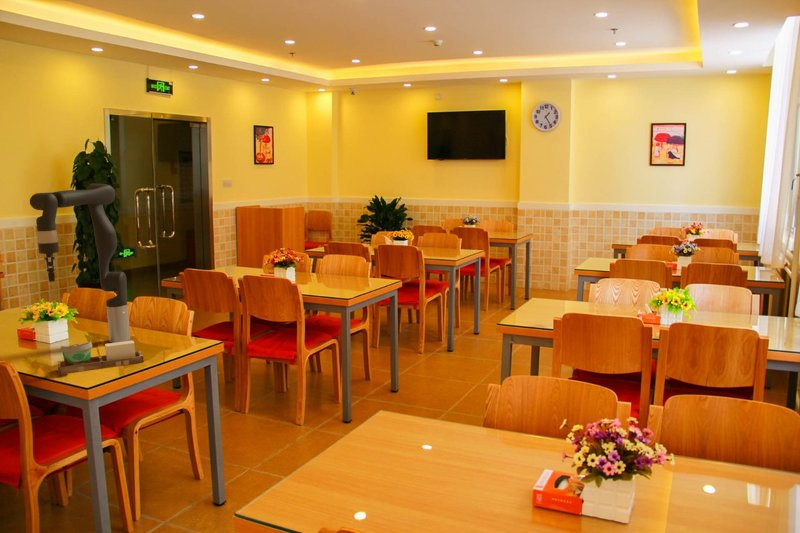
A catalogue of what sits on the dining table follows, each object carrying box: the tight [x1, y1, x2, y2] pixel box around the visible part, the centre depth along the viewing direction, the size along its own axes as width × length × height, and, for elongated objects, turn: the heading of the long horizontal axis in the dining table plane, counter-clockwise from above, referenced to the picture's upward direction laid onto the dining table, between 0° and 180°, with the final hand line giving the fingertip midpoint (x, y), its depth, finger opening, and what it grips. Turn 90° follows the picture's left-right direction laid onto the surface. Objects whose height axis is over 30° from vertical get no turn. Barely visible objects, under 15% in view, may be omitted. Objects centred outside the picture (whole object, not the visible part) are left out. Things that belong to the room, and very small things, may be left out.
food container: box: [59, 340, 93, 366], centre depth 279 cm, size 12×6×10 cm, turn 136°
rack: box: [57, 350, 145, 377], centre depth 284 cm, size 11×32×4 cm, turn 117°
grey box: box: [104, 340, 136, 361], centre depth 287 cm, size 5×11×8 cm, turn 117°
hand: (51, 280), depth 286 cm, fingers open, 8 cm apart
